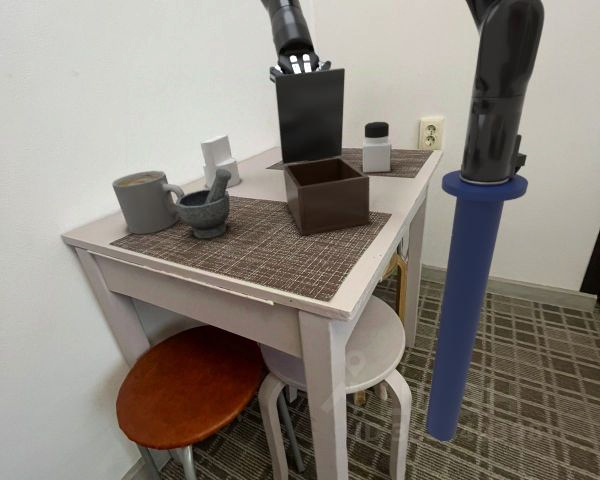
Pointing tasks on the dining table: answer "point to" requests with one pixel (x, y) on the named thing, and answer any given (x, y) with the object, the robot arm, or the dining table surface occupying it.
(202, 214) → the mortar and pestle
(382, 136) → the medicine bottle
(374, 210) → the dining table surface
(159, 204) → the coffee mug
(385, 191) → the dining table surface
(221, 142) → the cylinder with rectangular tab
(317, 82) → the dark grey box lid
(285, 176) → the open box
